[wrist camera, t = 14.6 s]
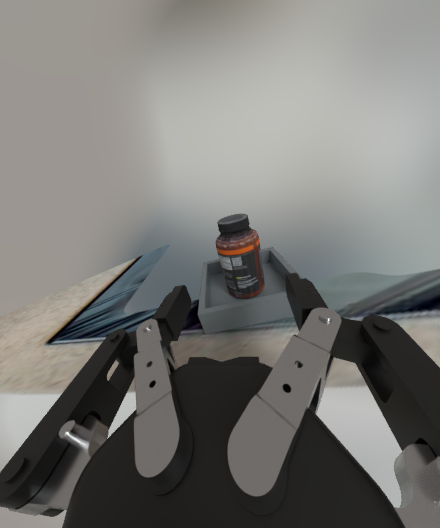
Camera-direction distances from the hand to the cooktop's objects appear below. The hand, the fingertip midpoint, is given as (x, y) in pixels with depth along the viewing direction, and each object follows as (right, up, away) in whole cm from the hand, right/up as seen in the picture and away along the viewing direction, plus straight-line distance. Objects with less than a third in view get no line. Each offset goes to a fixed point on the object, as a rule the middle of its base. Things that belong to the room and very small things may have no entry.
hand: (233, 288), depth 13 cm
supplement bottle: (+3, -2, +13) cm, 13 cm away
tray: (+3, -2, +13) cm, 14 cm away
